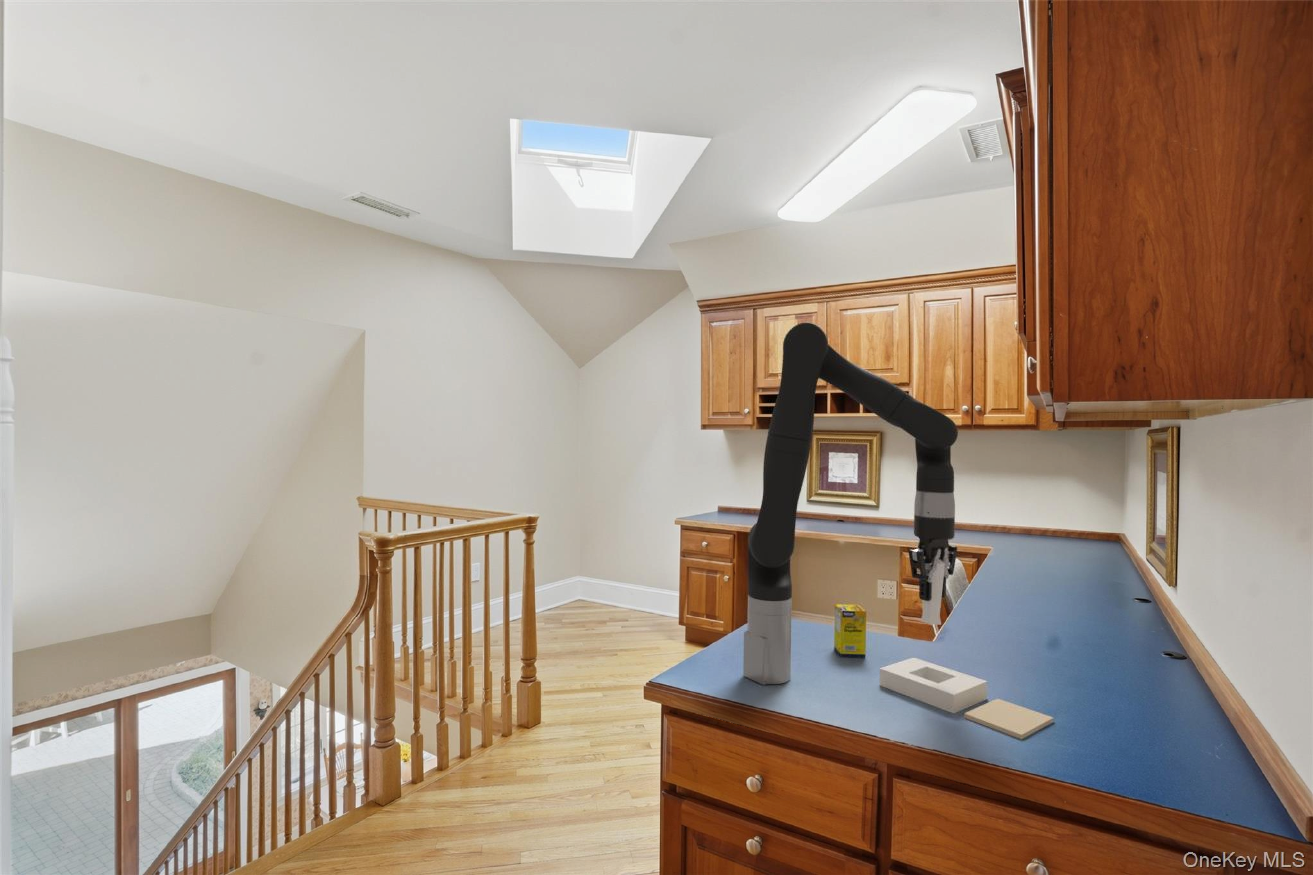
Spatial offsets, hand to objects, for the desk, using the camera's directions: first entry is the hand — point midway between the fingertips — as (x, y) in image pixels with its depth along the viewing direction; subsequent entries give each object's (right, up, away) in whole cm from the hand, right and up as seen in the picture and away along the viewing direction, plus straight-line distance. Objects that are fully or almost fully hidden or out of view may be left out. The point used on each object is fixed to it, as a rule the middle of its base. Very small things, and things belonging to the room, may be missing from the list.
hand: (932, 597), depth 127 cm
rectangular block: (0, -19, 0) cm, 19 cm away
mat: (+8, -19, -12) cm, 24 cm away
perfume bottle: (0, -5, 0) cm, 5 cm away
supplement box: (-10, -19, +23) cm, 31 cm away
